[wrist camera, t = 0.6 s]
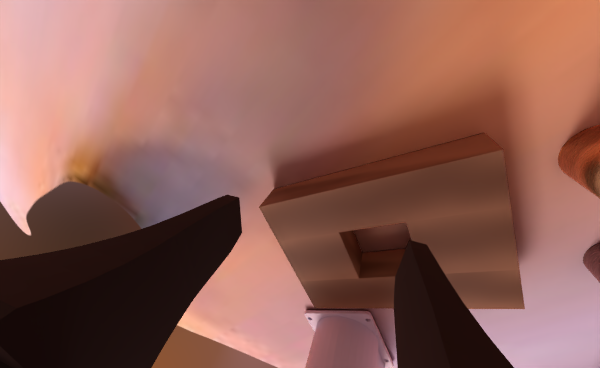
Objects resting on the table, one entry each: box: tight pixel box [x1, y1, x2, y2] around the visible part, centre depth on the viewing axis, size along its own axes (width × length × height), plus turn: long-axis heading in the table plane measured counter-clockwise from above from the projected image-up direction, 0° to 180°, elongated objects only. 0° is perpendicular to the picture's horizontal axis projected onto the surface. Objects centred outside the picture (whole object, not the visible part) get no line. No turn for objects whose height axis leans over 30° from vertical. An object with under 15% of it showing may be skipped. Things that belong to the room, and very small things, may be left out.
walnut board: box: [259, 133, 525, 309], centre depth 19 cm, size 12×16×3 cm
